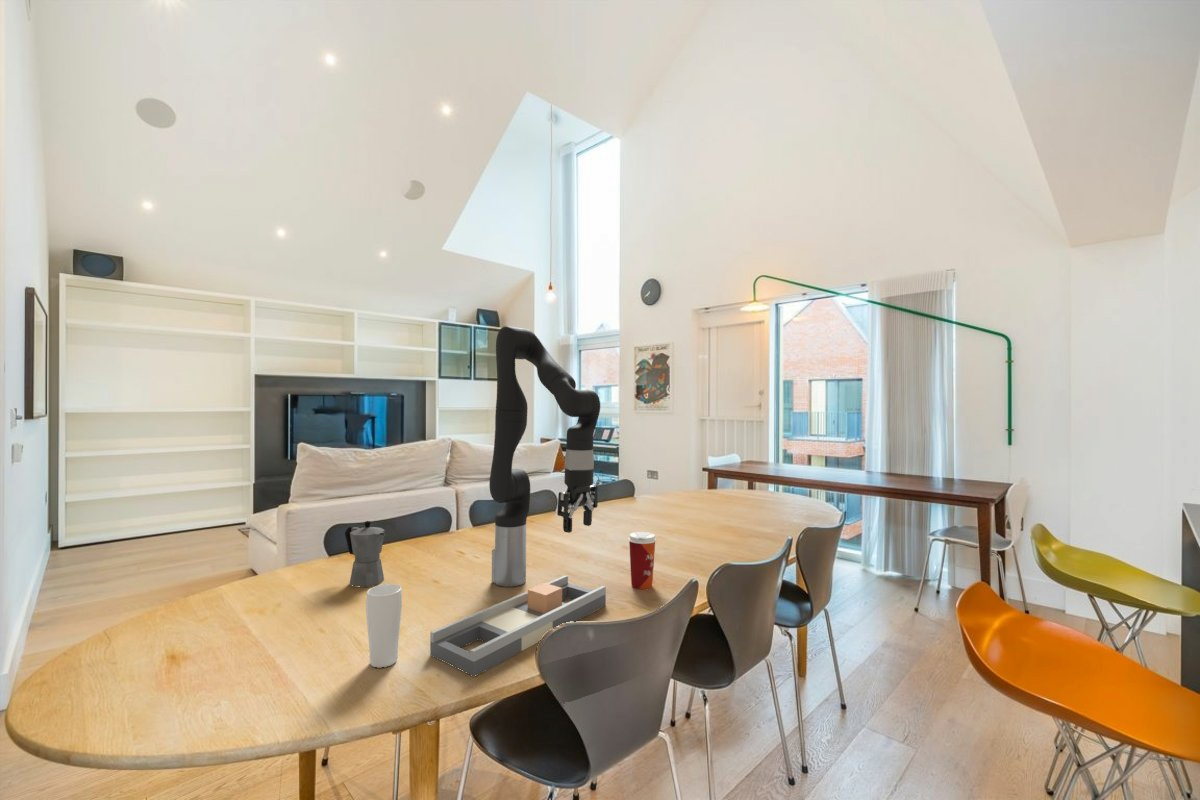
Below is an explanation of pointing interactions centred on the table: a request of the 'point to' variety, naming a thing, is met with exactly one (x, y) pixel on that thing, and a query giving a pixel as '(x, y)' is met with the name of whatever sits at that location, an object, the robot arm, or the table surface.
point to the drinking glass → (383, 623)
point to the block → (544, 598)
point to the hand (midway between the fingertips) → (577, 528)
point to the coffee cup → (642, 559)
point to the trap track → (509, 627)
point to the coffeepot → (365, 554)
